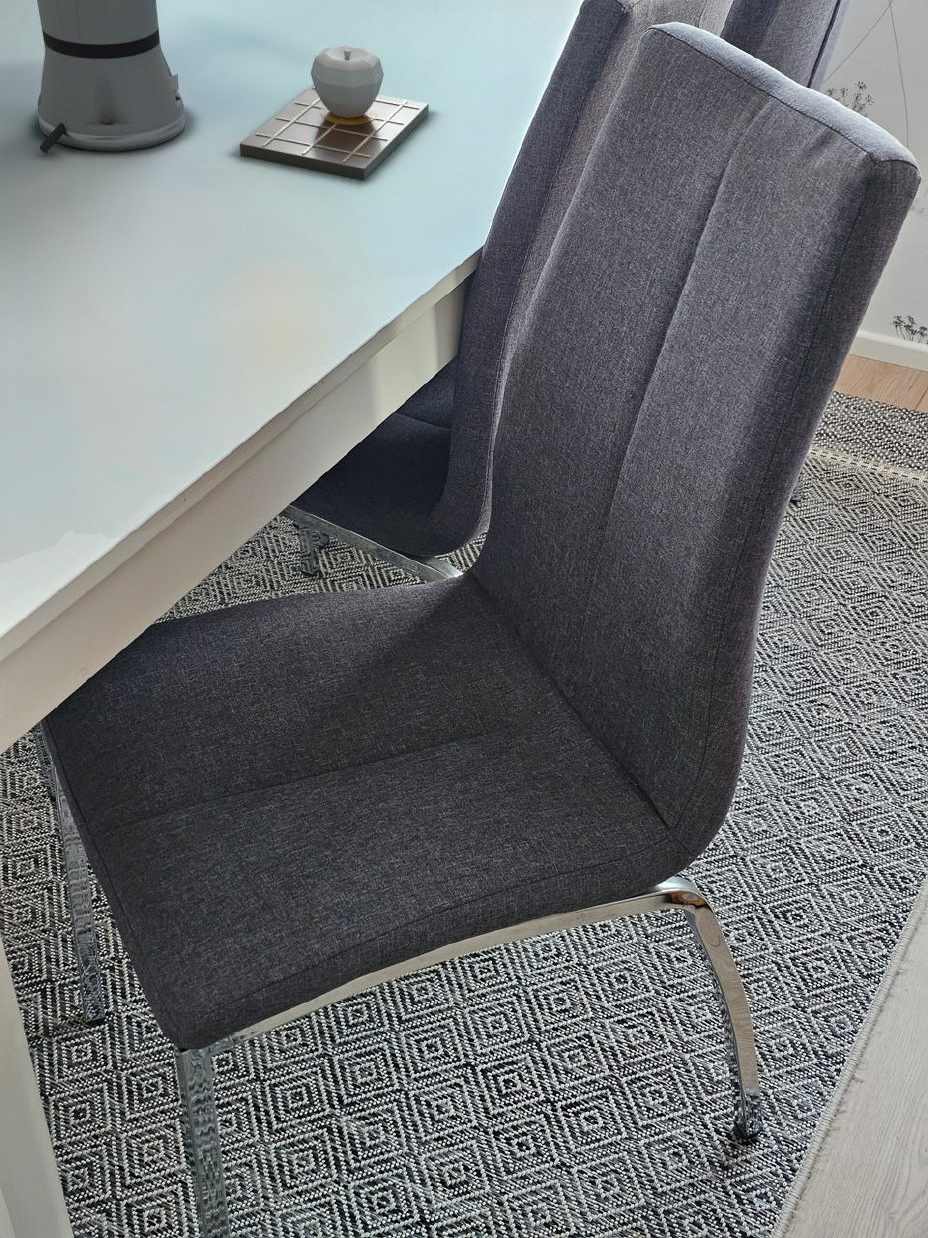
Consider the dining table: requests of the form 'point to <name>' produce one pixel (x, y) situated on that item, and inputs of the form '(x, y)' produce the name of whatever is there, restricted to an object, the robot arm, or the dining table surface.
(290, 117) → the board
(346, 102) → the apple
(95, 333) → the dining table surface
